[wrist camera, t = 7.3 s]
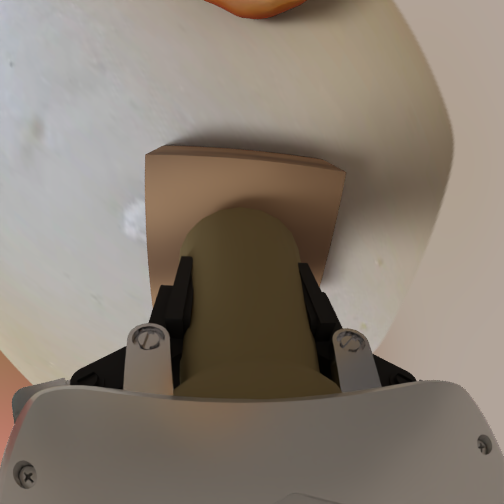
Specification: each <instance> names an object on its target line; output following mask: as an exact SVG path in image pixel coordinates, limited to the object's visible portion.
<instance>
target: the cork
mask: <svg viewBox="0 0 504 504" xmlns="http://www.w3.org/2000/svg"><path fill="white" fill-rule="evenodd" d="M181 256H191V257H192V258H193V265H192V271H191V274H192V282H193V290H194V294H193V303H192V312H191V321H190V327H189V328H188V329H187V331H186V332H185V334H184V338H183V349H182V358H181V360H180V385H179V386H178V387H177V388H175V389H174V390H173V396H184V397H199V398H223V399H281V398H295V397H306V396H317V395H327V394H336V393H343V392H342V391H341V390H340V388H339V387H338V386H337V384H336V383H334V382H333V381H331V380H330V379H328V378H327V377H325V376H324V375H322V374H321V373H320V370H319V363H318V356H317V350H316V345H315V340H314V337H313V335H312V332H311V330H310V325H309V320H308V316H307V311H306V306H305V302H304V296H303V289H302V282H301V277H300V272H299V268H298V263H301V259H300V254H299V249H298V247H297V244H296V242H295V240H294V237H293V235H292V233H291V232H290V231H289V230H288V229H287V227H286V226H285V225H284V224H283V223H282V222H281V221H280V220H279V219H277V218H275V217H273V216H271V215H269V214H267V213H265V212H263V211H261V210H255V209H249V208H243V207H238V208H231V209H225V210H219V211H217V212H215V213H213V214H211V215H209V216H207V217H205V218H203V219H201V220H200V221H199V222H198V223H197V224H196V225H195V226H194V227H193V228H192V229H191V230H190V231H189V232H188V234H187V236H186V238H185V240H184V242H183V244H182V246H181V248H180V257H179V262H180V259H181Z"/></svg>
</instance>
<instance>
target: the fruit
mask: <svg viewBox="0 0 504 504" xmlns="http://www.w3.org/2000/svg"><path fill="white" fill-rule="evenodd" d="M204 1H207V2H209V3H212V4H214V5H216V6H219V7H221V8H223V9H224V10H226V11H228V12H230V13H232V14H234V15H236V16H239V17H241V18H250V19H263V18H269V17H273V16H275V15H277V14H280V13H282V12H285V11H287V10H289V9H292V8H294V7H296V6H299V5H301V4H302V3H304V2H305V1H307V0H204Z"/></svg>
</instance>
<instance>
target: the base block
mask: <svg viewBox="0 0 504 504" xmlns="http://www.w3.org/2000/svg"><path fill="white" fill-rule="evenodd" d="M345 176H346V172H345V171H343V170H341V169H339V168H337V167H336V166H334V165H332V164H330V163H328V162H326V161H324V160H323V159H317V158H310V157H304V156H296V155H289V154H281V153H272V152H263V151H254V150H243V149H230V148H216V147H197V146H161V147H159V148H157V149H156V150H154V151H152V152H150V153H148V154H146V155H145V210H146V235H147V251H148V265H149V276H150V287H151V296H152V305H153V307H154V304H155V301H156V297H157V294H158V291H159V288H160V286H161V285H172V286H173V284H174V280H175V277H176V273H177V269H178V266H179V257H180V248H181V246H182V244H183V242H184V240H185V238H186V236H187V234H188V232H189V231H190V230H191V229H192V228H193V227H194V226H195V225H196V224H197V223H198V222H199V221H200V220H201V219H203V218H205V217H207V216H209V215H211V214H213V213H215V212H217V211H219V210H225V209H231V208H238V207H243V208H249V209H255V210H261V211H263V212H265V213H267V214H269V215H271V216H273V217H275V218H277V219H279V220H280V221H281V222H282V223H283V224H284V225H285V226H286V227H287V229H288V230H289V231H290V232H291V233H292V235H293V237H294V240H295V242H296V244H297V247H298V249H299V254H300V259H301V263H308V265H309V267H310V269H311V271H312V273H313V275H314V277H315V279H316V281H317V283H318V286H319V287H320V283H321V280H322V276H323V272H324V268H325V265H326V261H327V257H328V253H329V249H330V245H331V241H332V236H333V232H334V228H335V224H336V219H337V215H338V210H339V206H340V201H341V196H342V191H343V186H344V181H345Z"/></svg>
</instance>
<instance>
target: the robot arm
mask: <svg viewBox="0 0 504 504" xmlns="http://www.w3.org/2000/svg"><path fill="white" fill-rule="evenodd" d="M192 265H193V258H192V257H191V256H181V259H180V262H179V266H178V269H177V273H176V277H175V280H174V284H173V286H172V285H161V286H160V288H159V291H158V294H157V297H156V301H155V304H154V307H153V310H152V313H151V317H150V320H149V323H146V324H141V325H138V326H136V327H135V328H133V329H132V330H131V331H130V333H129V335H128V338H127V346H125V347H123V348H121V349H119V350H117V351H115V352H113V353H111V354H109V355H107V356H105V357H103V358H101V359H99V360H97V361H95V362H93V363H91V364H89V365H87V366H85V367H83V368H81V369H79V370H78V371H76V372H75V373H74V375H73V376H72V378H71V380H67V381H66V380H65V378H62V379H58V380H54V381H50V382H45V383H41V384H37V385H33V386H28V387H24V388H22V389H19V390H18V391H17V392H16V393H15V394H14V396H13V399H12V409H13V417H14V426H13V430H12V432H11V434H10V437H9V440H8V442H7V445H6V448H5V452H4V455H3V459H2V463H1V467H0V504H504V456H503V454H502V451H501V449H500V447H499V445H498V443H497V440H496V438H495V436H494V434H493V432H492V430H491V428H490V426H489V424H488V422H487V421H486V419H485V417H484V415H483V413H482V412H481V411H480V409H479V407H478V405H477V404H476V402H475V401H474V400H473V398H472V397H471V396H470V394H469V393H468V392H467V391H466V390H465V389H464V388H463V387H461V386H460V385H458V384H455V383H451V382H446V381H440V380H425V381H423V380H419V381H416V379H415V377H414V376H413V375H412V374H410V373H409V372H407V371H405V370H403V369H401V368H399V367H397V366H395V365H394V364H392V363H389V362H388V361H385V360H384V359H382V358H380V357H378V356H376V355H374V354H372V351H371V348H370V345H369V342H368V340H367V338H366V337H365V336H364V335H363V334H361V333H360V332H358V331H356V330H353V329H348V328H347V329H343V328H342V326H341V324H340V322H339V320H338V318H337V316H336V313H335V311H334V309H333V307H332V305H331V303H330V301H329V299H328V297H327V295H326V293H324V292H321V290H320V288H319V286H318V283H317V281H316V279H315V277H314V275H313V273H312V271H311V269H310V267H309V265H308V263H298V268H299V272H300V277H301V282H302V289H303V296H304V302H305V306H306V311H307V316H308V320H309V325H310V330H311V332H312V335H313V337H314V340H315V345H316V350H317V356H318V363H319V370H320V373H321V374H322V375H324V376H325V377H327V378H328V379H330V380H331V381H333V382H334V383H336V384H337V386H338V387H339V388H340V390H341V391H342V392H343V393H336V394H327V395H317V396H306V397H295V398H281V399H223V398H199V397H184V396H173V390H174V389H175V388H177V387H178V386H179V385H180V360H181V358H182V349H183V338H184V334H185V332H186V331H187V329H188V328H189V327H190V321H191V312H192V303H193V294H194V290H193V282H192V274H191V271H192Z"/></svg>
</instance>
